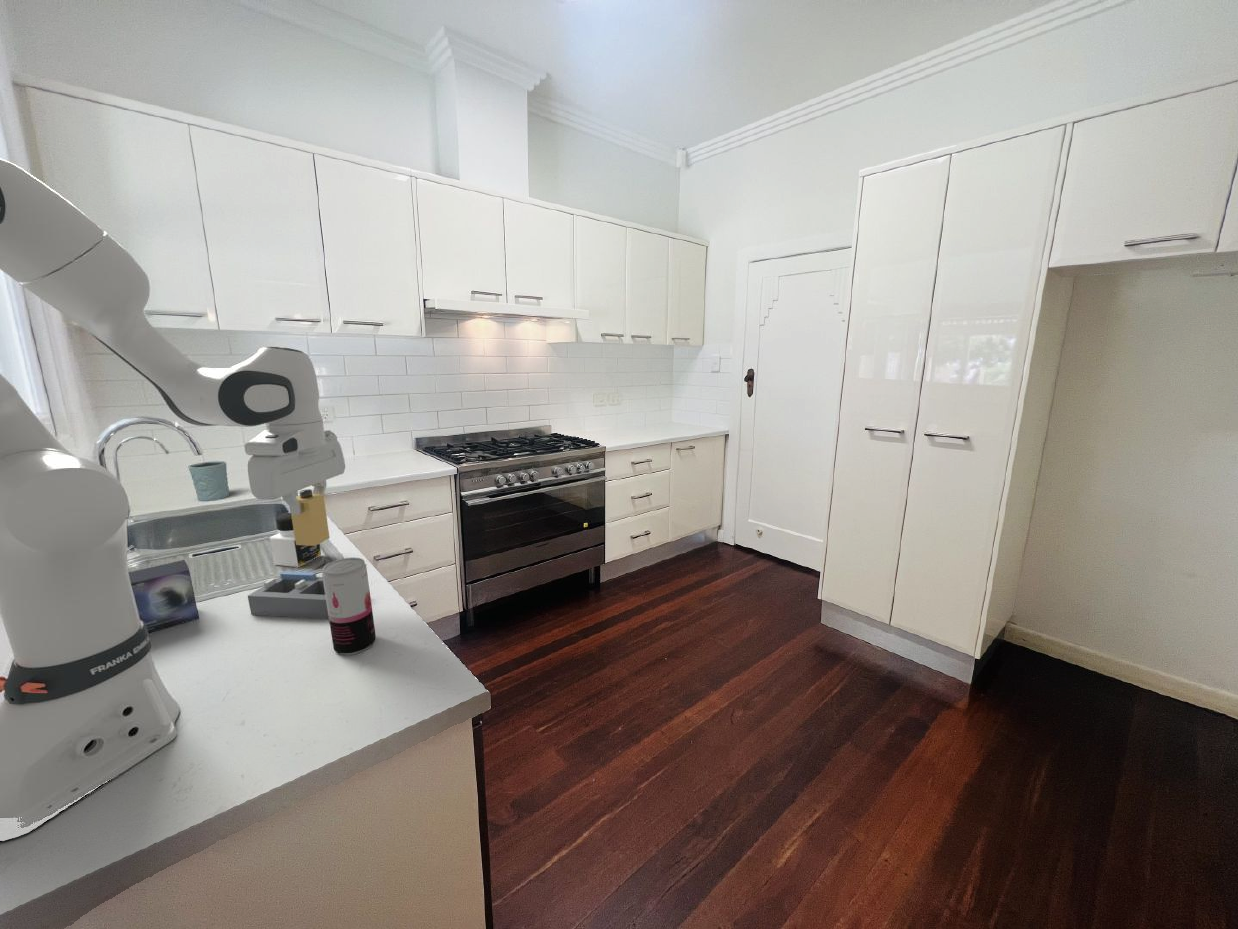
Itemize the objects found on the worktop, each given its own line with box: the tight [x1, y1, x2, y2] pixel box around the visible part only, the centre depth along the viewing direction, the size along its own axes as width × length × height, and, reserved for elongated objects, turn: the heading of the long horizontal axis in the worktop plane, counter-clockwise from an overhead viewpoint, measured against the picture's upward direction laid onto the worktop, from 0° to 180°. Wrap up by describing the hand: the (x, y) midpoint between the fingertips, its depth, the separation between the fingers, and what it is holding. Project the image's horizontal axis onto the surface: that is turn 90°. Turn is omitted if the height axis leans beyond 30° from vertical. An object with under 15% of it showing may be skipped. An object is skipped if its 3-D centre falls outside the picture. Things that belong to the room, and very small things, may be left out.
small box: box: [128, 559, 200, 634], centre depth 93 cm, size 11×6×10 cm, turn 136°
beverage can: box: [321, 557, 377, 656], centre depth 85 cm, size 6×6×15 cm
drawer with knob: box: [291, 488, 330, 546], centre depth 96 cm, size 4×4×10 cm
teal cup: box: [188, 460, 230, 502], centre depth 172 cm, size 10×10×12 cm
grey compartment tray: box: [247, 570, 329, 620], centre depth 100 cm, size 9×16×5 cm, turn 84°
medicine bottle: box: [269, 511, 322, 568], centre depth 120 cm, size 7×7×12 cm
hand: (308, 508), depth 95 cm, fingers closed on drawer with knob, 4 cm apart
